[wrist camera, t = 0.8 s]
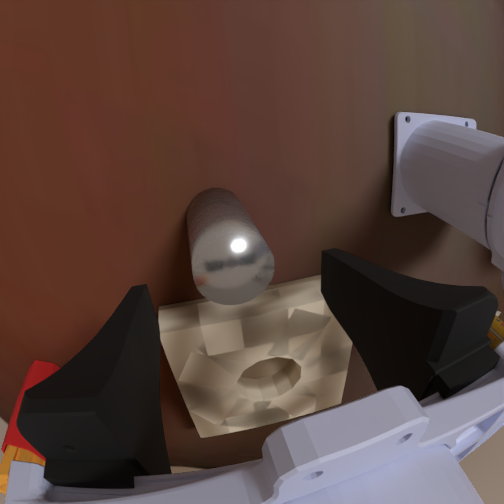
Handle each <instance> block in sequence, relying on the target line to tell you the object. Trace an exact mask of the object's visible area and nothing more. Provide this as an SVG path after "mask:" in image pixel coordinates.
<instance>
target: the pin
mask: <svg viewBox="0 0 504 504" xmlns="http://www.w3.org/2000/svg"><path fill="white" fill-rule="evenodd" d="M187 227H188V237H189V246H190V255H191V264H192V272H193V279H194V283H195V285H196V287H197V289H198V290H199V292H200V293H201V294H202V295H203V296H204V297H205V298H207V299H208V300H210V301H212V302H214V303H218V304H222V305H238V304H242V303H245V302H248V301H250V300H252V299H254V298H256V297H257V296H258V295H260V294H261V293H262V292H263V291H264V290H265V289H266V288H267V286H268V285H269V283H270V281H271V279H272V277H273V274H274V258H273V255H272V252H271V250H270V249H269V247H268V245H267V244H266V242H265V241H264V239H263V237H262V236H261V234H260V232H259V231H258V229H257V228H256V226H255V224H254V223H253V221H252V220H251V218H250V216H249V215H248V213H247V211H246V210H245V208H244V207H243V205H242V203H241V202H240V200H239V199H238V198H237V196H236V195H234V194H233V193H232V192H230V191H228V190H226V189H222V188H210V189H207V190H204V191H202V192H200V193H199V194H197V195H196V196H195V197H194V198H193V199H192V201H191V202H190V204H189V206H188V209H187Z"/></svg>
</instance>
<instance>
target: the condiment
mask: <svg viewBox="0 0 504 504" xmlns="http://www.w3.org/2000/svg"><path fill="white" fill-rule="evenodd" d="M500 313H501V312H499V311H497V312H496V315H495V318H494V320H493V323H492V325H491V327H490V330H489V332H488V334H487V336H488V337H489V338H490V339H491V340H492V343H491V345H489V346H490V347H491V348H492V349H493V350H494V349H495V348H496V347H497V346H498V345H499V344H500V343H502V342H503V341H504V322H503V321H502V320H501V319H499V318H498V316H499V314H500Z"/></svg>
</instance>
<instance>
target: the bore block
mask: <svg viewBox="0 0 504 504" xmlns="http://www.w3.org/2000/svg"><path fill="white" fill-rule="evenodd" d="M158 322H159V328H160V340H161V343H162V346H163V348H164V351H165V354H166V356H167V359H168V362H169V364H170V367H171V369H172V372H173V374H174V377H175V379H176V382H177V384H178V387H179V389H180V392H181V394H182V396H183V399H184V401H185V403H186V406H187V408H188V410H189V413H190V415H191V417H192V419H193V422H194V424H195V426H196V428H197V430H198V433H199V435H200V437H201V438H204V437H210V436H216V435H221V434H227V433H232V432H237V431H242V430H246V429H251V428H256V427H260V426H264V425H268V424H272V423H276V422H280V421H284V420H288V419H291V418H295V417H299V416H302V415H306V414H309V413H312V412H316V411H319V410H322V409H325V408H328V407H331V406H334V405H337V404H340V403H341V400H342V395H343V390H344V385H345V381H346V375H347V370H348V365H349V360H350V354H351V348H352V341H351V340H350V338H349V337H348V335H347V334H346V332H345V331H344V330H343V328H342V327H341V325H340V324H339V322H338V321H337V320H336V318H335V317H334V315H333V314H332V312H331V311H330V309H329V307H328V305H327V304H326V302H325V300H324V297H323V295H322V293H321V275H317V276H312V277H307V278H303V279H298V280H293V281H289V282H284V283H279V284H274V285H269V286H267V288H266V289H265V290H264V291H263V292H262V293H261V294H260V295H258V296H257V297H256V298H254V299H252V300H250V301H248V302H245V303H242V304H238V305H222V304H218V303H214V302H212V301H210V300H208V299H207V298H203V299H197V300H192V301H187V302H181V303H175V304H170V305H164V306H159V319H158Z"/></svg>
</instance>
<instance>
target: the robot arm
mask: <svg viewBox="0 0 504 504" xmlns="http://www.w3.org/2000/svg"><path fill="white" fill-rule="evenodd" d="M406 117H407V121H405V118H406ZM402 208H403V209H402ZM401 209H402V211H401ZM425 212H430V213H431V214H433V215H435V216H437V217H438V218H440V219H442V220H443V221H445V222H447V223H448V224H450V225H452V226H453V227H455V228H457V229H458V230H460V231H461V232H463V233H465V234H466V235H468V236H469V237H471V238H473V239H474V240H476V241H477V242H479V243H480V244H482V245H483V246H485V247H486V248H488V249H489V250H491V251H492V259H491V263H492V264H493V265H495V266H496V267H498V268H499V269H500V270H502V271H503V272H502V286H503V289H504V137H501V136H497V135H494V134H491V133H487V132H484V131H480V130H476V122H475V120H473V119H468V118H461V117H453V116H444V115H434V114H423V113H409V112H397V113H396V115H395V118H394V167H393V186H392V200H391V214H392V215H393V216H395V217H400V216H406V215H413V214H419V213H425ZM321 293H322V295H323V297H324V300H325V302H326V304H327V305H328V307H329V309H330V311H331V312H332V314H333V315H334V317H335V318H336V320H337V321H338V322H339V324H340V325H341V327H342V328H343V330H344V331H345V332H346V334H347V335H348V337H349V338H350V340H351V341H352V342H353V344H354V345H355V347H356V348H357V350H358V352H359V353H360V355H361V357H362V359H363V361H364V363H365V365H366V367H367V369H368V371H369V373H370V375H371V377H372V379H373V381H374V384H375V386H376V388H377V390H378V391H377V392H375V393H372V394H370V395H367V396H365V397H362V398H359V399H357V400H354V401H351V402H348V403H346V404H343V405H340V406H337V407H334V408H331V409H328V410H325V411H322V412H319V413H315V414H312V415H309V416H305V417H302V418H299V419H297V420H295V421H292V422H290V423H287V424H285V425H282V426H281V427H279V428H278V429H277V430H275V431H274V432H273V433H271V434H270V435H269V436H268V437H267V438H266V440H265V442H264V445H263V447H262V455H263V458H262V459H258V460H254V461H249V462H244V463H240V464H235V465H229V466H224V467H218V468H212V469H206V470H199V471H192V472H184V473H175V474H172V473H171V469H170V464H169V459H168V454H167V448H166V443H165V437H164V430H163V423H162V416H161V407H160V393H159V386H160V356H161V340H160V328H159V322H158V319H157V316H156V313H155V310H154V307H153V304H152V301H151V297H150V294H149V291H148V288H147V284H144V285H139V286H133V287H131V289H130V290H129V291H128V293H127V294H126V296H125V297H124V299H123V300H122V302H121V303H120V304H119V306H118V307H117V309H116V310H115V312H114V313H113V314H112V316H111V317H110V318H109V320H108V321H107V322H106V323H105V325H104V326H103V327H102V328H101V330H100V331H99V332H98V333H97V335H96V336H95V337H94V338H93V339H92V340H91V341H90V342H89V343H88V344H87V345H86V346H85V347H84V348H83V349H82V350H81V351H80V352H79V353H78V354H77V355H76V356H74V357H73V358H72V359H71V360H70V361H69V362H68V363H67V364H65V365H64V366H63V367H61V368H60V369H59V370H57V371H56V372H55V373H53V374H52V375H50V376H49V377H47V378H46V379H44V380H43V381H41V382H39V383H38V384H36V385H34V386H33V387H31V388H29V389H27V390H25V392H24V395H23V399H22V402H21V405H20V409H19V413H18V416H17V420H16V426H17V428H18V430H19V432H20V434H21V435H22V436H23V437H24V438H25V440H26V441H28V442H29V443H30V444H31V445H32V446H33V447H34V448H35V449H36V450H37V451H38V452H39V453H40V454H41V455H43V456H44V457H45V458H46V460H45V467H44V466H43V465H40V464H38V463H33V462H24V461H17V460H12V461H11V466H10V471H9V477H8V484H7V491H6V500H5V504H484V503H483V501H482V500H481V498H480V497H479V495H478V493H477V492H476V490H475V489H474V487H473V485H472V484H471V482H470V481H469V479H468V478H467V476H466V474H465V473H464V471H463V470H462V468H461V467H460V465H459V464H458V462H459V461H461V460H462V459H463V458H465V457H466V456H467V455H468V454H470V453H471V452H472V451H473V450H475V449H476V448H477V447H478V446H480V445H481V444H482V443H483V442H485V441H486V440H487V439H488V438H489V437H491V435H493V434H494V433H495V432H496V431H497V430H499V429H500V428H501V427H502V426H503V425H504V341H503V342H502V343H500V344H499V345H498V346H497V347H496V348H495V349H494V350H493V349H492V348H491V347H490V346H489V345H491V343H492V340H491V339H490V338H489V337H488V336H487V334H488V332H489V330H490V327H491V325H492V323H493V320H494V318H495V315H496V312H497V307H498V301H497V298H496V296H495V295H494V294H492V293H491V292H490V291H489V290H488V289H486V288H485V287H483V286H457V285H447V284H440V283H434V282H429V281H424V280H420V279H416V278H412V277H409V276H405V275H402V274H399V273H396V272H393V271H390V270H388V269H385V268H382V267H380V266H377V265H375V264H372V263H370V262H368V261H365V260H363V259H361V258H359V257H356V256H354V255H352V254H349V253H347V252H344V251H342V250H339V249H336V248H334V249H329V250H324V251H322V265H321Z"/></svg>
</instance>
